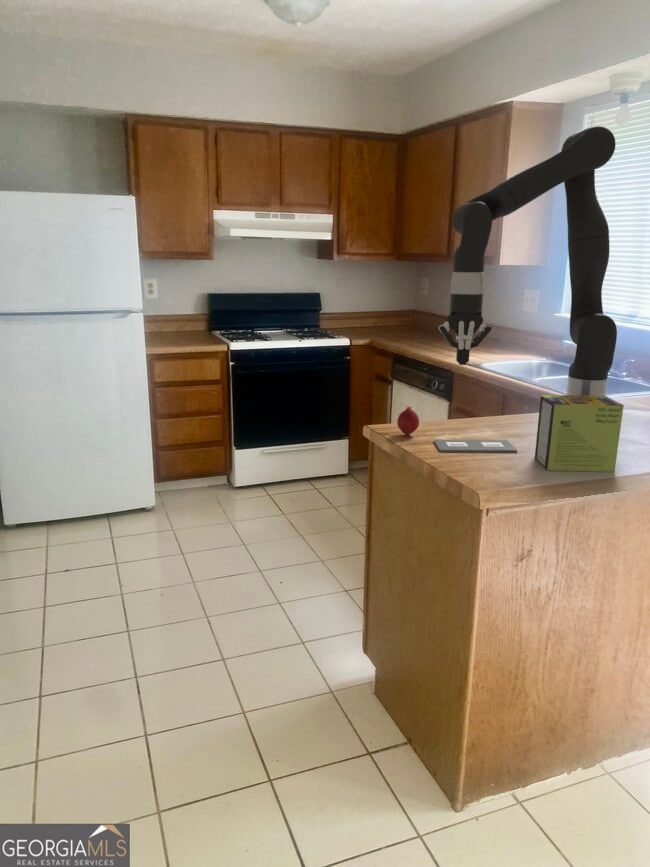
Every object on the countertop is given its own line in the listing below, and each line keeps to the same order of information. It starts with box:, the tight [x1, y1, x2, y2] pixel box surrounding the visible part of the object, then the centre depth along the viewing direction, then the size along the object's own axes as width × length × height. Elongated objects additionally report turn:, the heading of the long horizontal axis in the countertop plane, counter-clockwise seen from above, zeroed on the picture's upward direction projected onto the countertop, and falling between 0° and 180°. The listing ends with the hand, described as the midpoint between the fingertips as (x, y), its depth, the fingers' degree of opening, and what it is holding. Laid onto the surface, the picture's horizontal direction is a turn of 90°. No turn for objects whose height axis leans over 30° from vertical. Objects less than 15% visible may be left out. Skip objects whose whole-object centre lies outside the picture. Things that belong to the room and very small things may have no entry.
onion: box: [396, 405, 420, 436], centre depth 171 cm, size 6×6×8 cm
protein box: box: [534, 394, 624, 473], centre depth 147 cm, size 10×15×16 cm
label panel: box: [433, 438, 518, 453], centre depth 162 cm, size 19×9×1 cm, turn 90°
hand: (462, 364), depth 156 cm, fingers closed
